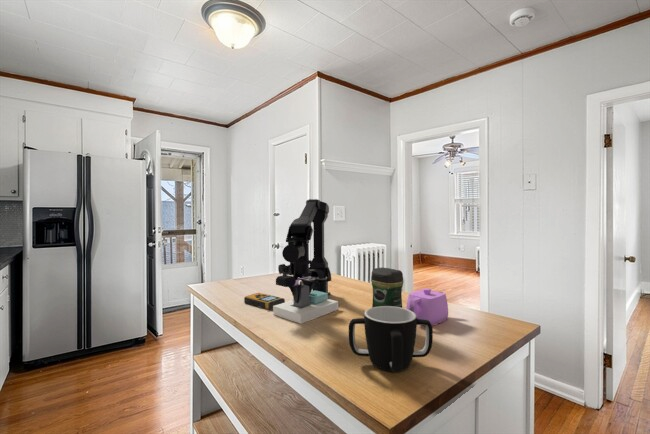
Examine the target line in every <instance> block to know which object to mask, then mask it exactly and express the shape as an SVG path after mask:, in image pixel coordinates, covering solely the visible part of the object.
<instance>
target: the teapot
mask: <svg viewBox="0 0 650 434" xmlns="http://www.w3.org/2000/svg"><path fill="white" fill-rule="evenodd" d="M406 301H407V302H406V307H405V309H408V310H410V311H412V312H414V313H415V314H416V316H417V319H423V320H428V321H429V322H430V323H431V325H432V327H434V326H436V325H435V324H437V325H439V324H438V323H440V324H442V323H444V322H446V321H447V320H448V318H449V304H448V299H447V295H446V293H444V292H442V291H435V290H432V289H431V288H427V287H425V288H422V289H420V290H415V291H413V292H410V293H408V296H407V300H406ZM446 319H447V320H446ZM443 321H444V322H443ZM441 322H442V323H441ZM433 325H434V326H433Z"/></svg>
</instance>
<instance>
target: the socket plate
mask: <svg viewBox="0 0 650 434" xmlns="http://www.w3.org/2000/svg"><path fill="white" fill-rule="evenodd" d="M338 310H339V301H338V300H333V299H330V298H328V300H326V301H323V302H320V303H317V304H314V303H310V306H307V307H304V308H298V307H295V306H294V303H293V300H292V299H291V300H289V301H285V303H282V304H278V305H275V306H273V309H272V312H273V313H272V314H273V315H274V316H276V317H280V318H283V319H286V320H289V321H291V322H295V323H298V324H301V325H302V324H303V323H307V322H309V321H312V320H314V319H317V318H319V317H322V316H325V315H327V314H331V313H333V312H335V311H338Z"/></svg>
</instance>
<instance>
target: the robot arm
mask: <svg viewBox="0 0 650 434" xmlns="http://www.w3.org/2000/svg"><path fill="white" fill-rule="evenodd" d="M329 212H330V206H329V204H328V203H327V202H324V201H321V200H320V199H318V198H313V199H312V198H309V199H307V200H306V201H305V206H304V208H303V210H302V212H301V213H300V215H299V217H298V218H295V219H293V221H292V222H291V223H290V225H289V227H288V231H287V235H286V239H285V243H287V245H285V246H284V247H283V249H282V251H281V252H282V253H281V254H282V258H283V259H284V260H285V261H286V262H288V263H289V264H288V265H286V264H285V263H282V264H279V265H278V270H277V271H278V274H279V275H278V276H277V277H276V278H275V286H281V287H285V288H289V289H290V292H291V294H292V297H294V300H295V303H298V302H299V297H300V291H301V285H300V281H303V285H307V286H309V295H310V293H311V291H314V290H315V291H320V292H324V293H328V296H329V295H331V292H329V282H332V273H331V271H330V267H329V262H328V260H327V259H326V258H325V223H326V221H327V220H328V217H329V215H328V214H329ZM312 224H313V225H312ZM312 235H313V240H312V241H313V258H312V260H310V245H309V244H310V241H311V239H312ZM281 274H282V275H281Z"/></svg>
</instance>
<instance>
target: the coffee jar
mask: <svg viewBox="0 0 650 434" xmlns="http://www.w3.org/2000/svg"><path fill="white" fill-rule="evenodd" d="M370 277H371V278H370V282H371V286H372V303H371V304H372V307H371V308H373V307H379V306H394V307H401V308H403V301H402V298H403V297H402V291H403V290H402V289H403V286H404V274H403V272H402V271H401V270H399V269H394V268H389V267H376V268H373V269H372V272H371V276H370Z"/></svg>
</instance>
